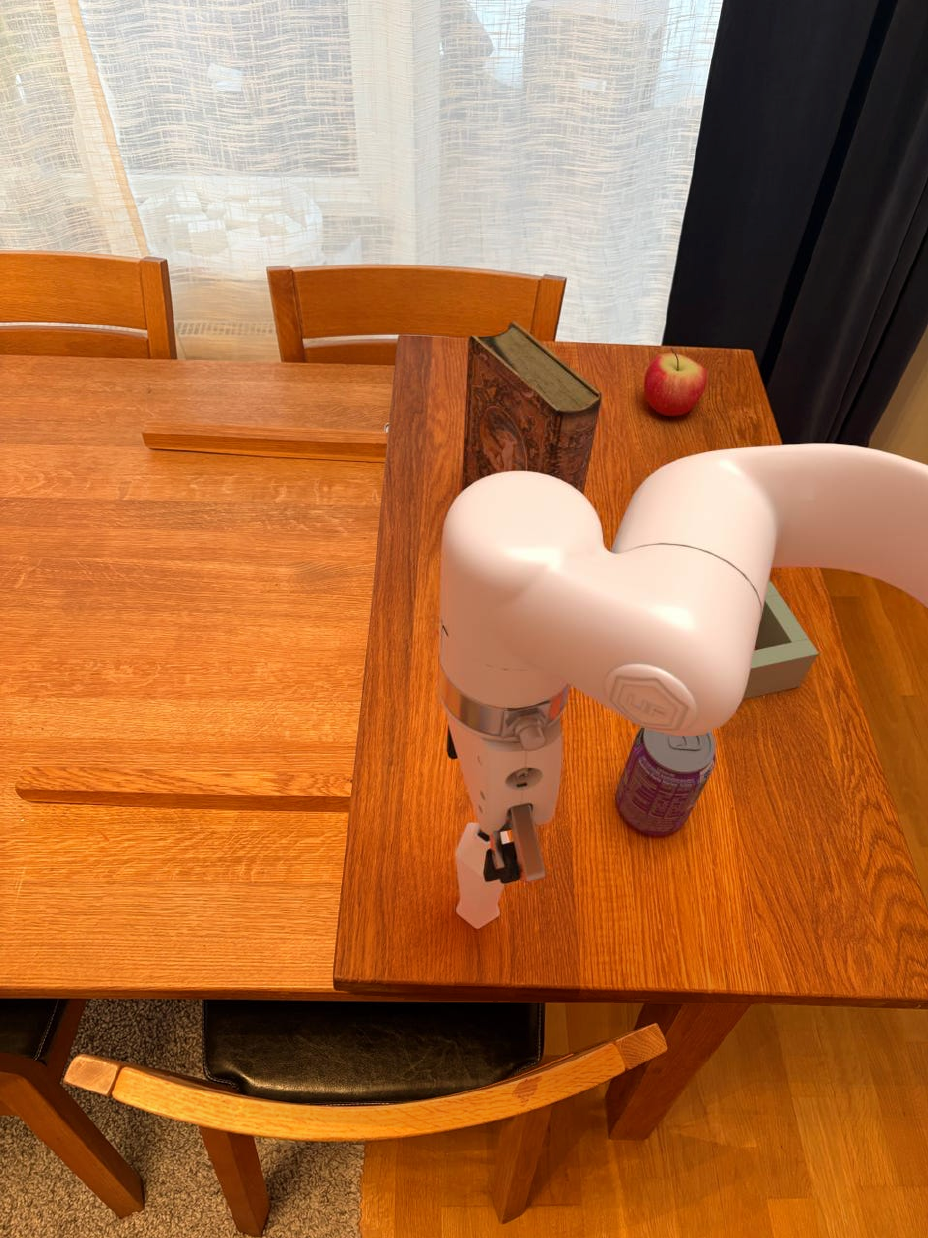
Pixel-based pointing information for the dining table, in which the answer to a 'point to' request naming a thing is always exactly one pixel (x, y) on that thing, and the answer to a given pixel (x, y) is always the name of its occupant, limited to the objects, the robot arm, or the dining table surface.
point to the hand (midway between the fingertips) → (486, 809)
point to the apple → (674, 383)
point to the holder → (779, 650)
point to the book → (526, 410)
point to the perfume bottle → (476, 878)
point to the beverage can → (664, 779)
